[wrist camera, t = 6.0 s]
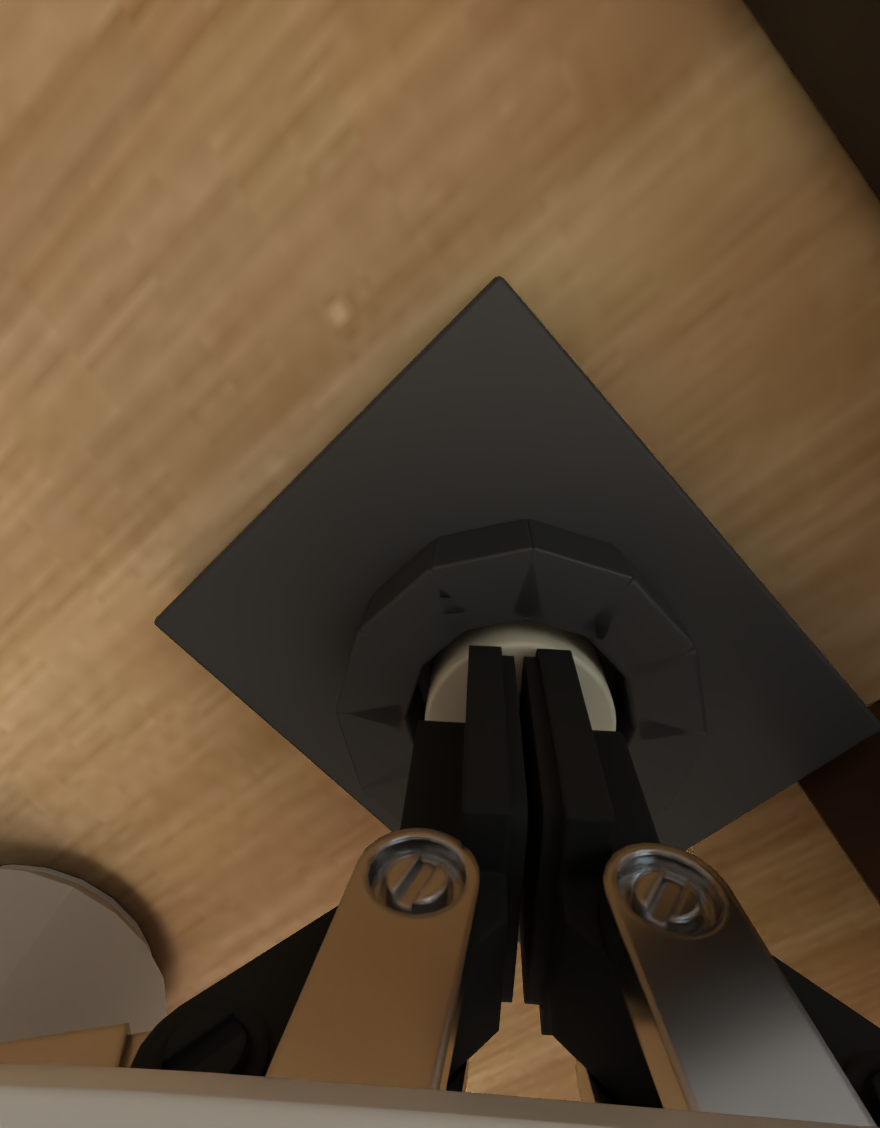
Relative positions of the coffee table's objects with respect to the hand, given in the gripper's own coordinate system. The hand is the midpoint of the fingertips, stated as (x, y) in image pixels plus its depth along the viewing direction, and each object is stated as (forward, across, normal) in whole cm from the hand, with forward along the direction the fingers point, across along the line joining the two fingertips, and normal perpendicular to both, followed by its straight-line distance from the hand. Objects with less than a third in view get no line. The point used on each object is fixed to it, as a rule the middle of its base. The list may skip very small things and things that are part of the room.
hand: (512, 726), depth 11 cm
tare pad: (+3, 0, 0) cm, 3 cm away
